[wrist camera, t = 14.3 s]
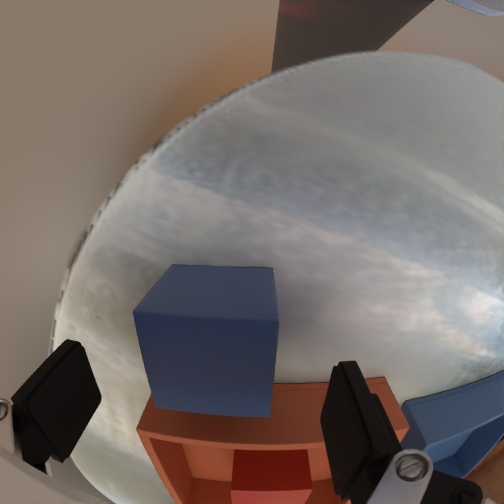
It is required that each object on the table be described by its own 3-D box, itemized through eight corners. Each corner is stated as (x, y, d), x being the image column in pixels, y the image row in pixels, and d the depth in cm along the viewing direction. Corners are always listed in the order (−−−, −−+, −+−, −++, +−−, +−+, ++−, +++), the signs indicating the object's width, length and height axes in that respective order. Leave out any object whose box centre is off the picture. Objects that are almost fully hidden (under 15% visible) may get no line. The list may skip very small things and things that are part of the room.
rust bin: (159, 374, 15) (135, 429, 11) (385, 376, 15) (410, 427, 10) (188, 474, 19) (180, 511, 15) (336, 475, 19) (343, 511, 14)
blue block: (172, 264, 13) (132, 311, 8) (272, 267, 13) (279, 320, 8) (180, 345, 14) (155, 407, 10) (267, 350, 14) (270, 417, 10)
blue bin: (405, 400, 16) (427, 445, 11) (511, 367, 15) (534, 392, 11) (354, 482, 20) (361, 514, 15) (453, 452, 19) (465, 476, 15)
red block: (235, 433, 16) (230, 490, 11) (305, 433, 16) (313, 489, 11) (236, 463, 17) (232, 511, 13) (296, 463, 17) (300, 511, 12)
